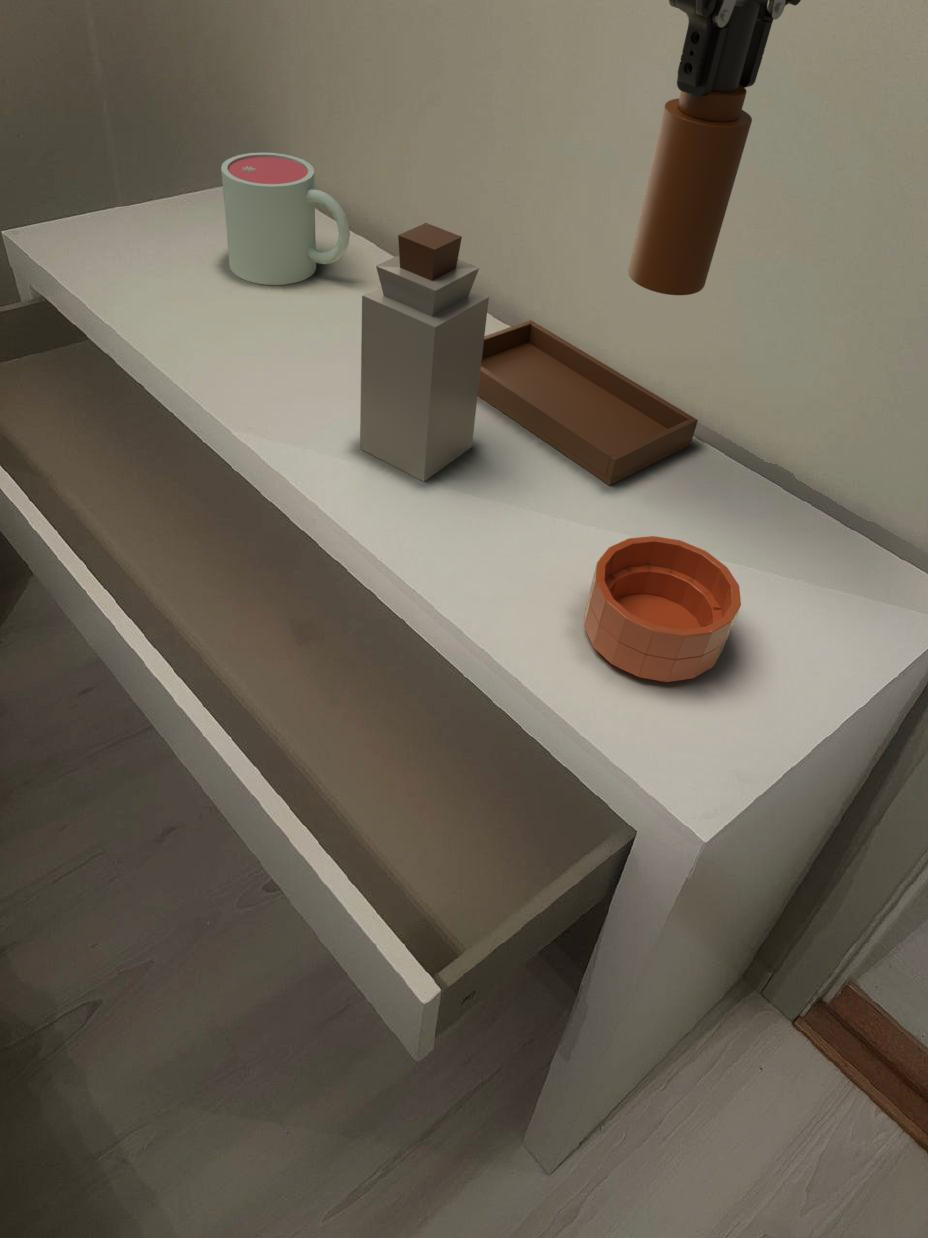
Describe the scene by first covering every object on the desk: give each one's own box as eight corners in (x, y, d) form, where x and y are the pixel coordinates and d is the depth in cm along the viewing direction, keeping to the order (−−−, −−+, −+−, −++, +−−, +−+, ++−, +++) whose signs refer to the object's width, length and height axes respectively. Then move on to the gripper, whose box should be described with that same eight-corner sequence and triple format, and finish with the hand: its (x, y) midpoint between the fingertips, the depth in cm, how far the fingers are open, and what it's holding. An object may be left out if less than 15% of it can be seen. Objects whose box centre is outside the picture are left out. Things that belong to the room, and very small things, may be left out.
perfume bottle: (409, 416, 82) (421, 208, 69) (471, 446, 80) (495, 237, 67) (359, 448, 78) (363, 234, 65) (423, 481, 75) (439, 265, 63)
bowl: (715, 600, 68) (735, 548, 65) (722, 698, 61) (745, 646, 58) (586, 579, 69) (599, 526, 65) (579, 674, 62) (593, 620, 58)
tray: (690, 444, 83) (698, 419, 81) (609, 485, 77) (615, 459, 76) (527, 343, 93) (530, 319, 92) (445, 373, 88) (447, 348, 86)
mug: (212, 270, 98) (202, 172, 92) (259, 240, 105) (253, 145, 98) (327, 304, 96) (326, 204, 89) (368, 270, 102) (370, 175, 95)
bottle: (702, 267, 69) (778, -3, 57) (706, 300, 65) (789, 18, 53) (627, 255, 69) (688, -16, 57) (627, 288, 65) (691, 4, 53)
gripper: (797, -300, 41) (693, 123, 53) (948, -273, 48) (826, 91, 60) (665, -314, 44) (595, 84, 56) (824, -288, 52) (733, 59, 64)
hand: (715, 86), depth 58 cm, fingers closed on bottle, 4 cm apart
